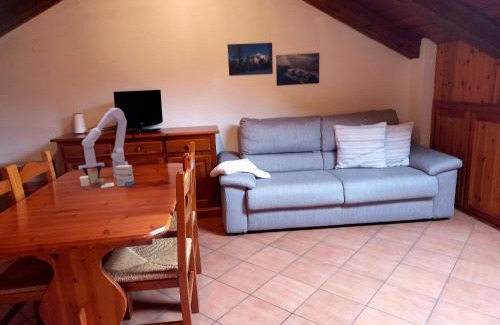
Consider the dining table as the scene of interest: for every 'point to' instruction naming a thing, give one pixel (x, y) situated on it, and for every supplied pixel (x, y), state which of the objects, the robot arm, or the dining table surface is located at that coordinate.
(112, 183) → the tile
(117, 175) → the ink box
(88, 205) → the dining table surface
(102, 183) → the walnut slab
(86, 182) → the cream block
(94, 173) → the sage block
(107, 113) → the robot arm
